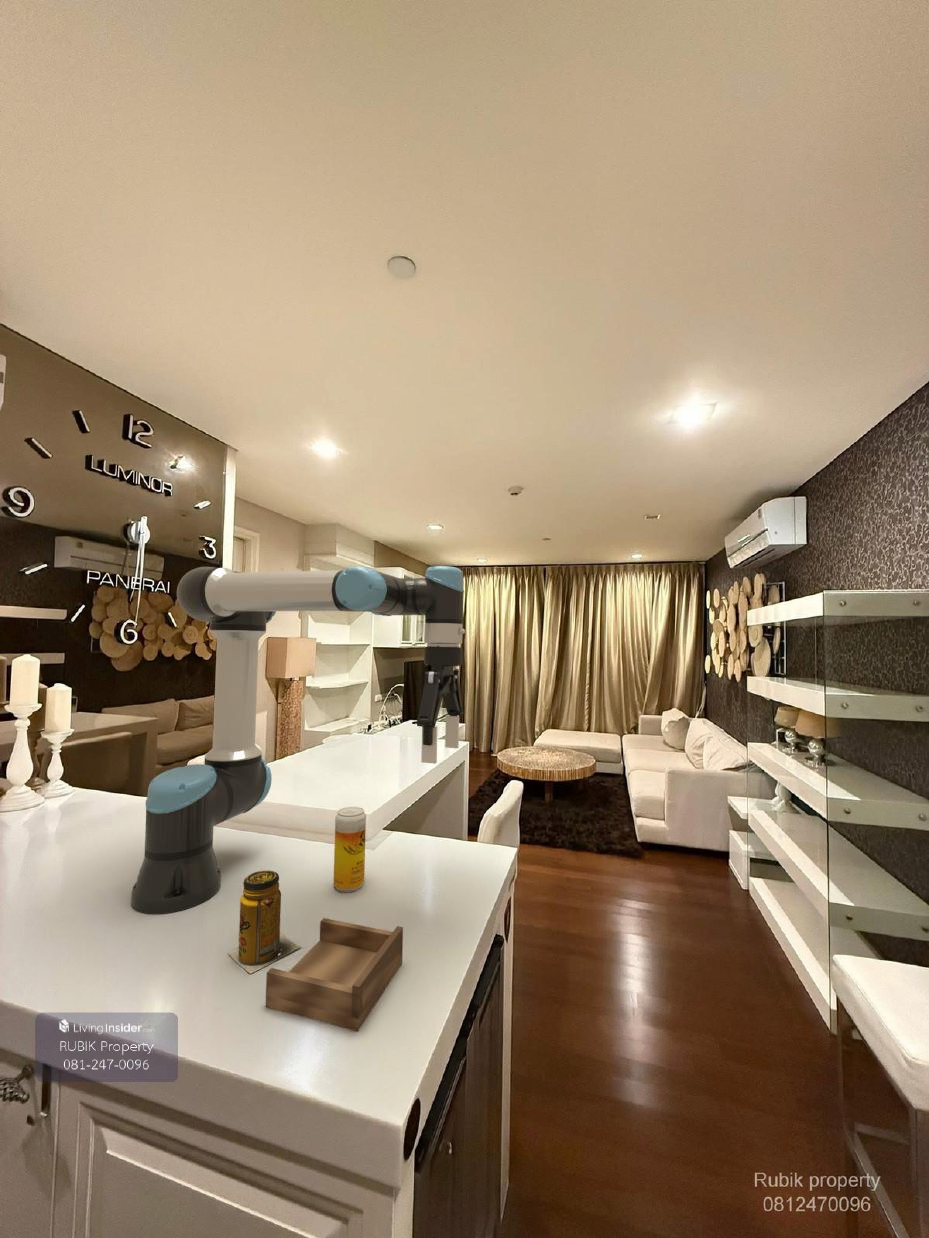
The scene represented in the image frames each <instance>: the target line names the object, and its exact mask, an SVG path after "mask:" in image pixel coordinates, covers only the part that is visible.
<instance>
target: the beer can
mask: <svg viewBox="0 0 929 1238" xmlns="http://www.w3.org/2000/svg"><path fill="white" fill-rule="evenodd" d="M366 822H367V814H366V813H365V809H364V808H363V807H360V806H347V807H346V806H345V807H342V808H340V809H338V810H337V813H336V816H335V820H334V824H335V825H334V849H333V850H334V851H333V852H334V853H333V855H334V857H333V859H334V860H333V886H334V887H335V888H336V890H337V891H339V892H341V893H350V892H355V891H357V890H358V889H361V887H362V885H363V884H364V883H365V869H366V868H365V867H366V866H365V864H366V863H365V862H366V861H365V860H366V832H367V831H366V825H367V823H366Z"/></svg>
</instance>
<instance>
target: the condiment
mask: <svg viewBox="0 0 929 1238" xmlns="http://www.w3.org/2000/svg"><path fill="white" fill-rule="evenodd" d="M279 880H280V875H279V873H278V872H276V871H274V870H268V869H267V870H259V871H255V872H252V873H250V874H249V875H247V876H246V877H245V878H244V880H243V883H242V884H243V890H242V895H241V897H240V902H239V903H240V904H239V926H238V927H239V931H238V932H239V933H238V949H236V950H233V951H231V952H228V953H227V954H228V955H229V957H231V958H232V960H234V961H235V962H236V964H238V965H239V966H241V967H242V968H243V969H244V970H246V971H247V973H249V974H250V975H251V974H252V973H255V972H257V971H258V970H261V969H263V968H265V967H267V966H269V965H270V964H272V963H275V962H276V961H278V960H279V959H281V958H283V957H285V956H287V955H289V954H292V953H293V952H294V951H296V950H298V949H300V948H301V946H300V944H297V943H295V942H294V941H292V940H291V939H290V938H287V936H286V935H285V934H283V933H282V932H281V912H282V911H281V909H282V908H281V906H282V892H281V890H280V882H279Z"/></svg>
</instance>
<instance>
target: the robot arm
mask: <svg viewBox="0 0 929 1238" xmlns="http://www.w3.org/2000/svg"><path fill="white" fill-rule="evenodd" d="M464 594H465V590H464V574H463V571H462V570H461V569H460V568H458V567H454V566H449V565H448V566H447V565H437V566H436V565H435V566H429V567H427V569H426V571H425V575H424V577H419V578H417V577H414V578H409V577H407V578H404V577H396V576H394V575H390V574H386V573H383V572H380V571H378V570H375V569H373V568H371V567H367V566H351V567H348V568H346V569H344V570H343V569H338V570H337V569H336V570H332V569H331V570H305V571H304V570H299V571H298V570H297V571H296V570H293V571H292V570H291V571H258V572H257V571H252V572H251V571H250V572H243V571H242V572H241V571H235V570H232V569H230V568H227V567H213V566H200V567H196V568H194V569H191V570H190V571H187V572H186V573H185V574H184V575H183V576H182V577H181V579H180V580H179V582H178V584H177V588H176V599H177V602H178V604H179V607H180V608H181V609H182V611H183V612H184V613H185V614H186V615H188V616H189V617H191V618H192V619H194V620H197V621H199V622H200V621H201V622H205V623H209V633H211V634H212V635H213V636H214V637H215V639H216V657H215V658H216V660H215V681H214V683H215V684H214V686H215V687H214V708H213V710H214V711H213V712H214V713H213V732H212V733H213V734H212V748H211V749H210V750H209V751H208V752H207V753H206V754H205V755H204V764H200V763H199V764H188V765H185V766H178V767H174V768H171V769H168V770H166V771H164V772H162V773H159V774H158V775H156V776H155V777H154V778H153V779H152V780H151V781H150V783H149V784H148V788H147V797H146V800H145V830H144V831H145V833H144V834H145V835H144V836H145V837H144V854H143V856H144V858H143V861H142V864H141V866H140V868H139V873H138V874H137V879H136V882H135V883H134V884H133V887H132V889H131V897H130V898H131V899H130V906H131V908H132V909H134V910H135V911H137V912H138V913H143V914H150V915H151V914H153V915H155V914H159V915H160V914H168V913H173V912H180V911H183V910H187V909H190V908H193V907H195V906H197V905H201V904H203V903H205V902H206V901H208V900H210V899H211V898H213V897H214V896H215V895H216V894H217V893H218V892H219V890H220V889H221V886H222V885H221V884H222V872H221V870H220V868H219V866H218V861H217V858H216V857H217V856H216V854H215V851H214V827H215V826H218V825H219V824H221V823H224V822H226V821H228V820H230V819H232V818H235V817H237V816H239V815H241V814H245V813H247V812H250V811H251V810H252V809H254V808H255V807H257V806H259V805H260V804H261V803H262V802H263V801H264V800H265V799H266V797H267V796H268V794H269V793H270V792H269V791H270V790H271V786H272V772H271V768H270V766H268V765H267V764H268V763H267V762H266V761H267V760H265V759H264V758H262V757H263V756H262V755H263V751H262V750H261V749H260V748H259V747H258V746H256V725H257V724H256V721H257V719H256V718H257V699H258V698H257V697H258V696H257V694H258V693H257V692H258V666H259V665H258V664H259V663H258V662H259V640H260V639H261V638H262V637H263V636H264V635H265V634H266V633H267V624H268V623H269V622H271V621H272V619H273V617H275V614H276V612H349V613H350V612H355V613H356V612H361V613H362V612H367V613H368V612H369V613H372V614H373V615H376V616H383V617H386V616H387V617H392V616H424V630H423V632H424V636H423V643H424V644H426V645H427V646H425V648H424V649H423V652H424V653H423V664H424V665H425V666H427V667H429V666H431V667H432V669H431V671H425V672H424V682H423V689H422V694H421V700H420V705H419V708H418V709H419V710H418V714H417V721H416V726H417V727H421V755H420V756H421V760H420V762H421V763H424V764H435V765H436V764H437V763H438V761H437V760H438V726H436V724H437V720H438V717H439V713H440V709H441V705H442V702H444V705H445V709H446V712H447V715H445V730H444V731H445V735H444V739H445V740H444V743H445V744H444V748H447V749H448V748H449V749H459V745H460V743H459V742H460V740H459V739H460V717H461V716H464V710H463V709H464V707H463V702H462V701H463V700H462V694H461V686H460V685H461V684H460V675H459V674H460V670H459V668H454V667H460V666H462V664H463V648H462V647H460V645H461V644H463V635H464V634H465V633H466V629H464V627H463V623H464V621H463V620H464V618H463V617H464V614H463V613H464Z"/></svg>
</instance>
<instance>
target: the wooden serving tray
mask: <svg viewBox="0 0 929 1238" xmlns="http://www.w3.org/2000/svg"><path fill="white" fill-rule="evenodd" d="M403 938H404V926H398V925H397V926H396V927H395V928H394V929H393V931H391V930H386V929H381V928H376V927H371V926H365V925H361V924H356V923H355V924H354V923H351V922H350V923H349V922H346V921H341V920H336V919H331V918H325V917H323V918H322V919H321V920H320V921H319V941H318V942H316V944H314V945H313V946H312V948H310V950H308V952H306V954H304V955H303V956H302V958H301V959H300V960H299V961H298V962H297V963H296V964H295V965H294V966H293V967H291V969H289V971H286V970H282V969H279V968H274V967H271V968H269V969H268V970H267V971H266V976H265V977H266V979H265V980H266V984H265V985H266V986H265V1005H264V1006H265V1008H270V1009H273V1010H277V1011H281V1012H284V1013H288V1014H292V1015H295V1016H296V1015H297V1016H299V1017H303V1018H306V1019H307V1018H308V1019H311V1020H314V1021H317V1022H322V1023H325V1024H329V1025H330V1024H331V1025H334V1026H338V1027H341V1028H345V1029H348V1030H352V1031H356V1032H359V1031H360V1029H361V1027H362V1026H363V1025H364V1024H365V1021H366V1020H367V1018H368V1017H369V1015H370V1014H371V1012H372V1010H373V1009H374V1007H376V1004H377V1003H378V1002H379V1000H380V998H381V997H382V995H383V993H384V992H385V990H386V989H387V987H388V986H389V985H390V983H391V982H392V980H393V979H394V976H395V975H396V974H397V973H398V971H399V969H400V967H401V966H402V964H403V951H404V950H403V947H404V946H403V945H404V943H403V942H404V939H403Z"/></svg>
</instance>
